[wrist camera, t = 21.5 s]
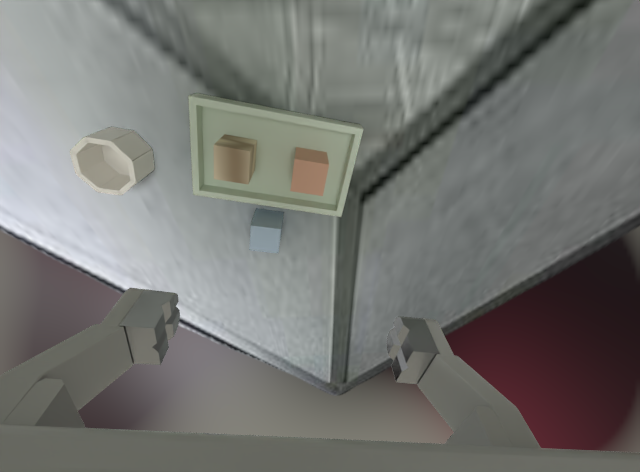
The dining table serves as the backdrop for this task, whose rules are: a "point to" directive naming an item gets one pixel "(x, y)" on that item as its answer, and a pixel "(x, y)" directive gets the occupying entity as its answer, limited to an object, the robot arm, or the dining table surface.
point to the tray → (271, 153)
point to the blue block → (266, 231)
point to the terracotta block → (309, 171)
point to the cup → (112, 160)
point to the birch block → (234, 159)
